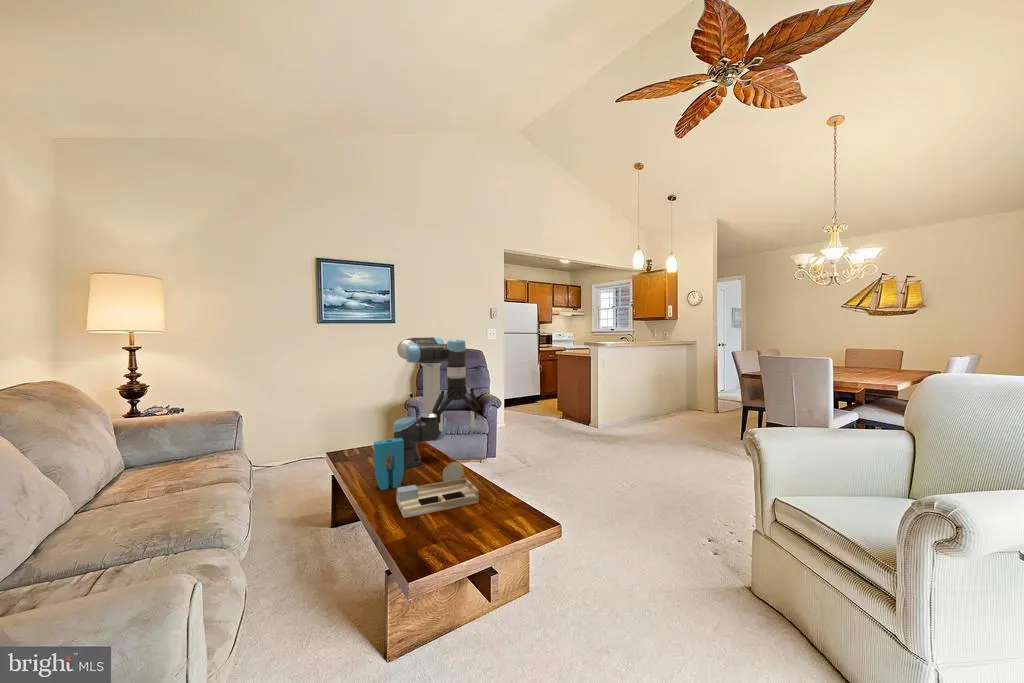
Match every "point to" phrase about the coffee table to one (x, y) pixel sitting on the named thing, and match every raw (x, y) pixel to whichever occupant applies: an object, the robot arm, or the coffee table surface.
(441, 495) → the box
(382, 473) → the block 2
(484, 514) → the coffee table surface
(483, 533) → the coffee table surface
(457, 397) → the robot arm
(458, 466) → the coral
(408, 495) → the block
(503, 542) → the coffee table surface
